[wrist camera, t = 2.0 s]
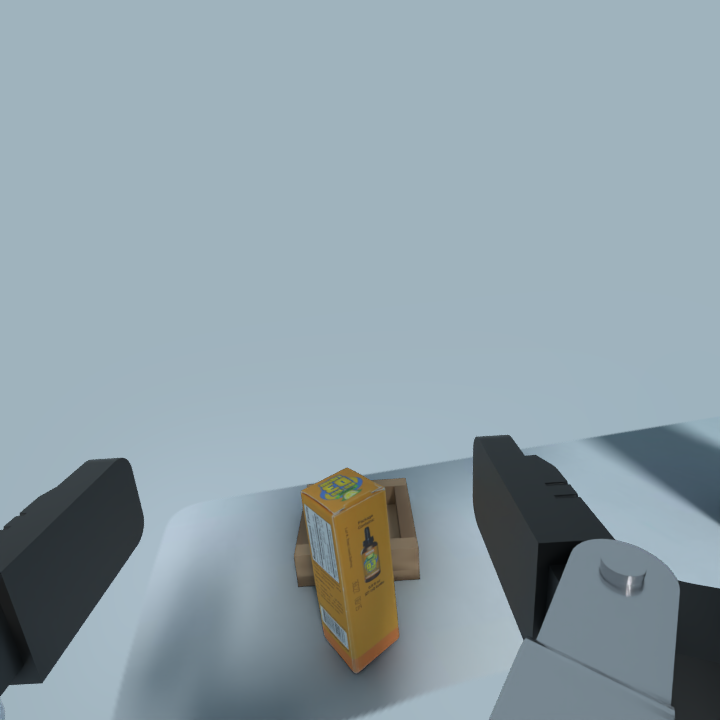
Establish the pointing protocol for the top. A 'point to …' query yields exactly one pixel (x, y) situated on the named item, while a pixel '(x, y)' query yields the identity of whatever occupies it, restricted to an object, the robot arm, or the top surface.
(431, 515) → the top surface
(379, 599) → the supplement box
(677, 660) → the robot arm
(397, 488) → the tray
